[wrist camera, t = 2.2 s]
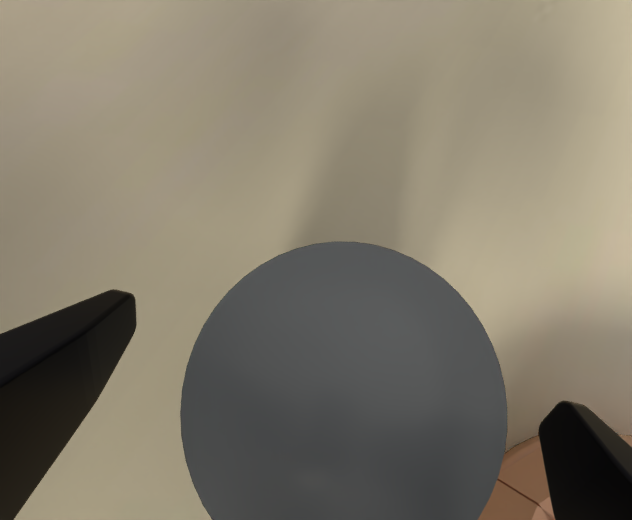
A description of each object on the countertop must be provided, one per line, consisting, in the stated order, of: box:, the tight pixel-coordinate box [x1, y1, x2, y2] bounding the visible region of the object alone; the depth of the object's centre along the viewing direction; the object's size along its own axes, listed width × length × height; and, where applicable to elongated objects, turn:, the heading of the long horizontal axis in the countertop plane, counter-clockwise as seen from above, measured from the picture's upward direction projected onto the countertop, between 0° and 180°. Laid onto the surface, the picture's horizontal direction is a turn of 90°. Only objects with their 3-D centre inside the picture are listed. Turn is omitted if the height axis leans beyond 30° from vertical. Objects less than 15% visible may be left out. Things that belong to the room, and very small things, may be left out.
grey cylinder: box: [180, 242, 507, 520], centre depth 11 cm, size 6×6×9 cm
